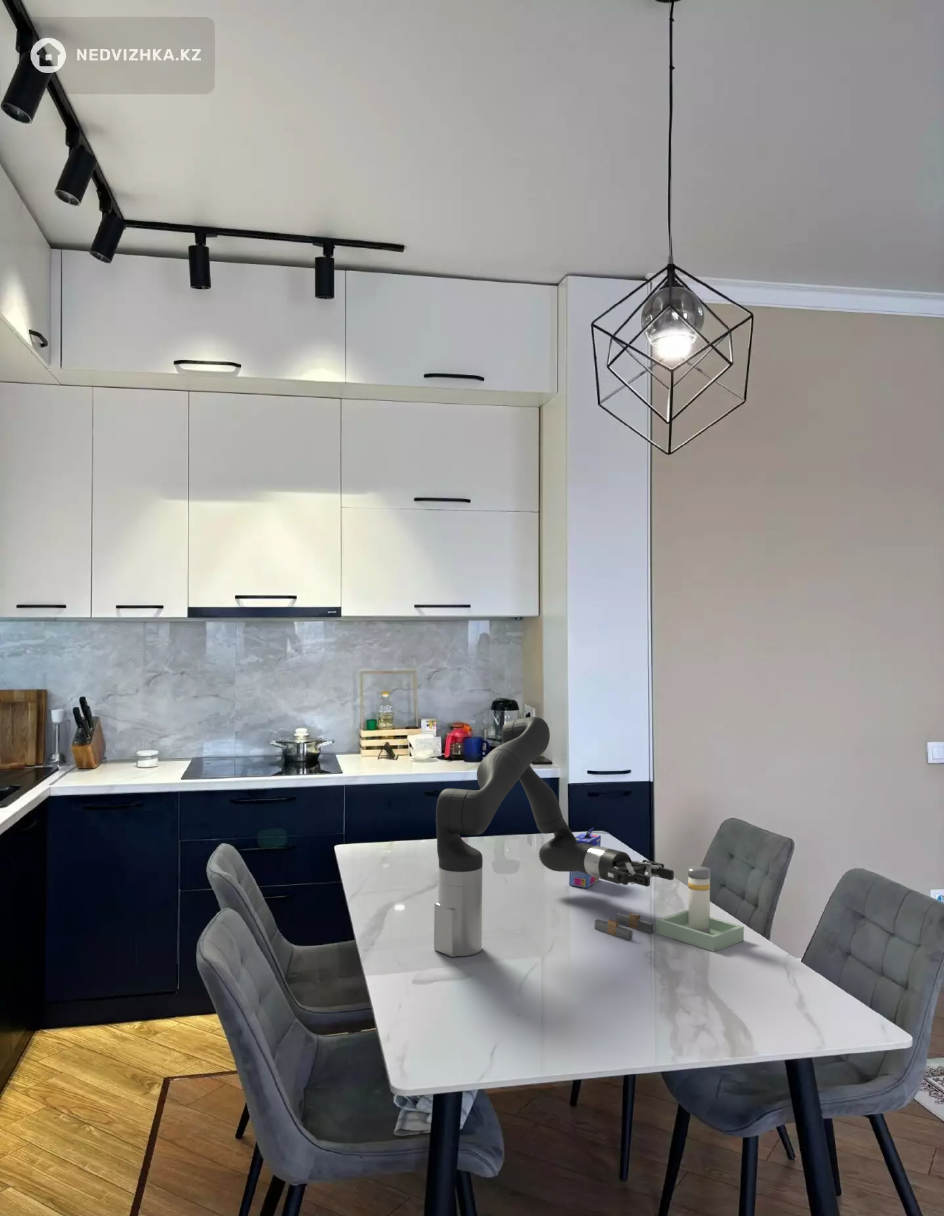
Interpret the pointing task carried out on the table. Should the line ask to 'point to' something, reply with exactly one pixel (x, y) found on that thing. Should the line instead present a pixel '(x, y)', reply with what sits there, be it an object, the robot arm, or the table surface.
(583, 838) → the ink cartridge box
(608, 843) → the table surface
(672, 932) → the tray
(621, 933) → the clip rails
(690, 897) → the cylinder
